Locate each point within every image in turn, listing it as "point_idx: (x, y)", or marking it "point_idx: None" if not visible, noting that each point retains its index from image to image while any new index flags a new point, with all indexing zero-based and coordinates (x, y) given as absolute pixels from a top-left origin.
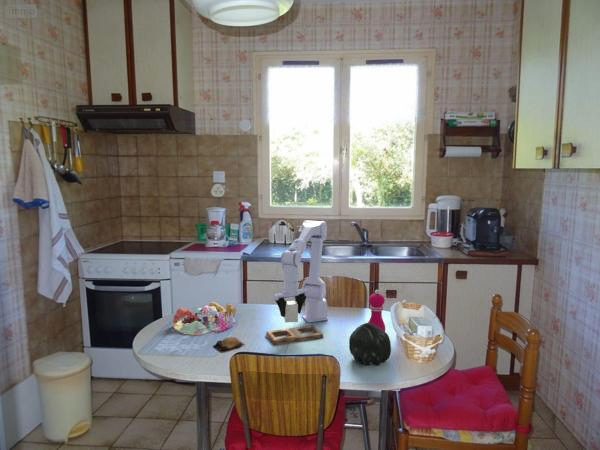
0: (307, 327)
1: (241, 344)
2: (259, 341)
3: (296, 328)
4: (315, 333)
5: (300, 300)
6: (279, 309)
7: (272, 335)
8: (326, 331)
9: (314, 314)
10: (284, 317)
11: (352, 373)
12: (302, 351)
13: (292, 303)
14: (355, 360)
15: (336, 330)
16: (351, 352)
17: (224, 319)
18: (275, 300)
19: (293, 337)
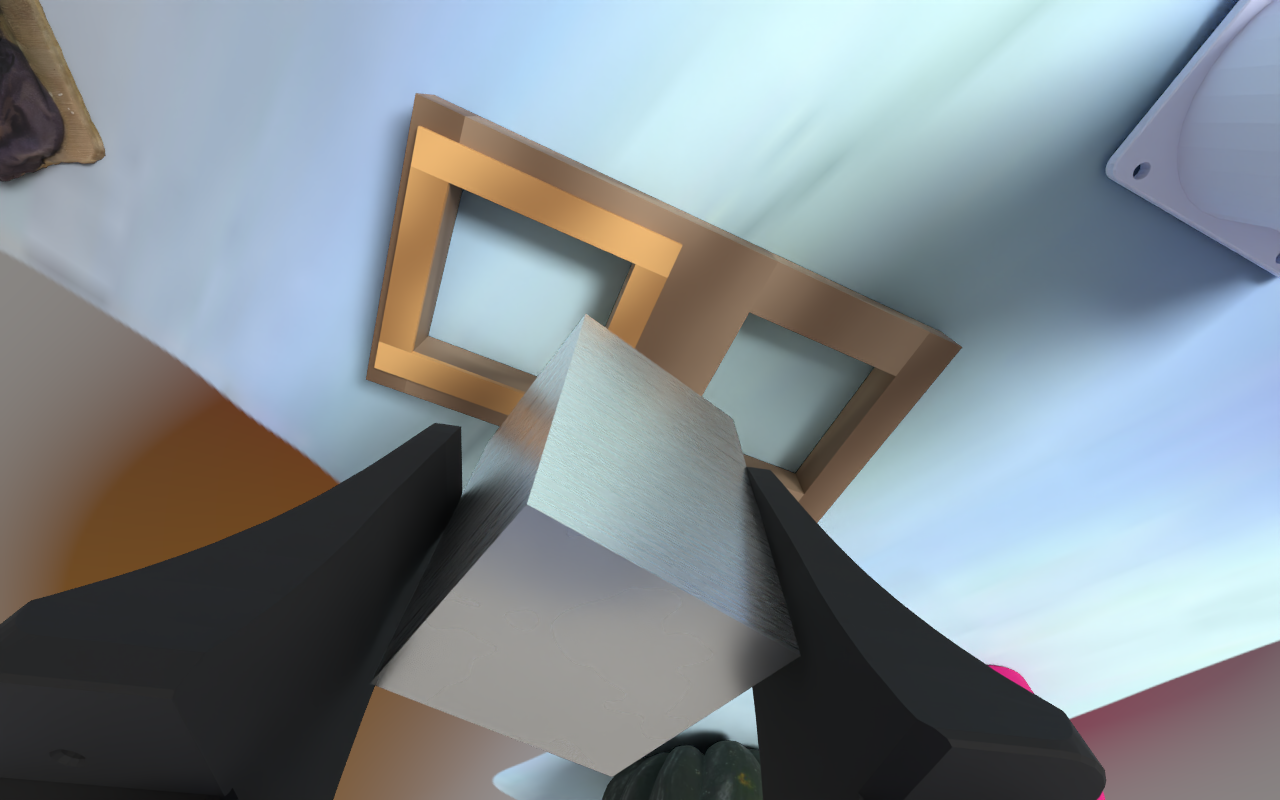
0: (861, 355)
1: (33, 156)
2: (287, 195)
3: (763, 293)
4: None
5: (773, 789)
6: (355, 478)
7: (413, 271)
8: (937, 455)
9: (1273, 207)
10: (540, 380)
11: (543, 773)
12: None
13: (579, 704)
14: (610, 781)
15: (1002, 491)
16: (622, 794)
17: None
18: (40, 624)
19: None
